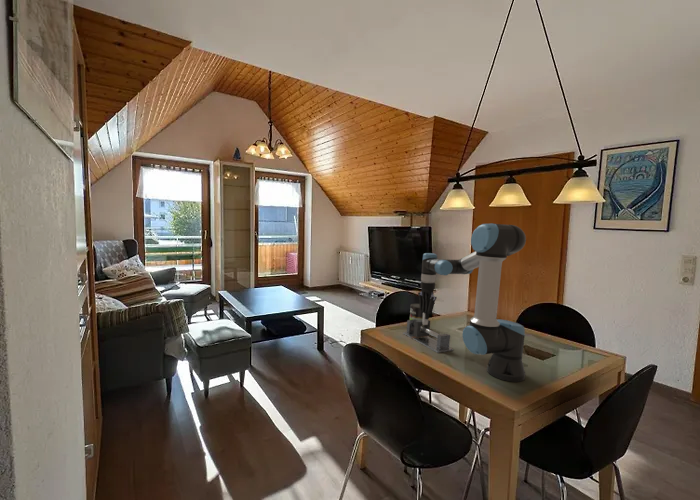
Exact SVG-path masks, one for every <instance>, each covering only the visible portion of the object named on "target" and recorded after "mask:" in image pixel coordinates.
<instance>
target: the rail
mask: <svg viewBox="0 0 700 500" xmlns="http://www.w3.org/2000/svg"><path fill="white" fill-rule="evenodd" d="M415 321H416V319H414V320H410V319H407V322H406V331H403V332H402V334H403V335H404V334H405V335H404V336H406V335H407V337H409V339H412V340H413V339H414V341H415V340H416V342H417V343H419V344H421V345H423V346H424V347H426V348H428V349H429V350H432V351H433V352H435V353H437V354H440V353H447V352H452V351H454V349H453V348H452V347H450V343H451V342H450V341H451V335H450V334H449V333H441V334H440V333H438V332H436V331H434V330H431V328H430V329H428V328H425V327H423V326H422V325H421V329H420V330H422V331H424V332H426V333H428V334H429V336H423V337H415V336H414V323H415ZM430 336H432V337H434V338H435V339H434V338H432V337H430Z"/></svg>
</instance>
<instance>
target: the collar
mask: <svg viewBox="0 0 700 500" xmlns="http://www.w3.org/2000/svg"><path fill="white" fill-rule="evenodd" d="M421 325H423V324H422V320H416V321H415V323H414V336H415V337H423V336H429V337H430V334H428V333H426V332H424V331H420V329H421ZM423 327H425V328H428V329H430V330H431V320H429V319H428V325H424V326H423Z"/></svg>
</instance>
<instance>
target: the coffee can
mask: <svg viewBox="0 0 700 500" xmlns="http://www.w3.org/2000/svg"><path fill="white" fill-rule="evenodd" d="M409 309H410V311H409V313H410V314H409V320H414V319H416V320H422V319H423V318H422V313H423V312H422V310H420V303H411V304H410V307H409ZM422 326H424V325H422ZM420 331H422V330H420Z"/></svg>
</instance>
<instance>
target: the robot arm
mask: <svg viewBox="0 0 700 500" xmlns="http://www.w3.org/2000/svg"><path fill="white" fill-rule="evenodd" d="M526 241H527V237H526V234H525V232H524V231H523V229H522V228H520V227H519V226H517V225H514V224H503V223H502V224H501V223H481V224H480V225H478V226H476V228H475V229H474V230H473V232H472V234H471V238H470V245H471V247H472V250H473V252H471V253H469V254H467V255H466V256H463V257H462V258H459V259H446V258H445V259H441V258H438V254H436V253H433V252H432V253H431V252H425V253H423V254H422V260H421V261H422V263H421V275H420V280H421V282H420V288H421V290H420V291H418V292H417V294H418V300H419V303H418V304H420V310H422V312H423V313H422V318H423V319H422V324H423V325H428V320H429V319H430V314H432V313H433V310H434V307H435V306H434V305H435V303H436V300H437V296H435V294H434V290H435V289H436V283H435V282H436V277H437V275H436V274H438V275H440V276H449V275H470V274H473V272H474V269H478V274H477V283H476V291H475V292H476V295H475V304H474V314H473V316H472V317H471V318H470V319H469V325H466V326H464V328H463V330H462V341H463V343H464V345H465V347H466V349H467V350H468V351H469V352H470V353H471V354H473V355H483V356H484V355H489V354H492V355H491V356H490V358H489V360H488V363H487V365H486V371H487V372H486V373H488V374H490V375H491V376H492V377H494V378H496V379H500V380H501V381H502V380H503V381H505V382H514V383H517V382H523V381H524V380H525V379H526V370H525V367H524V362H523V355H524V353H523V352H524V345H525V337H526V335H525V333H526V332H525V330H526V329H525V326H524V325H522V324H520V323H518V322H516V321H511V320H508V319H501V318H500V319H499V318H497V315H498V306H499V305H498V304H499V295H500V285H501V277H502V268H503V267H502V266H503V261H505V260H506V259H508V257H510V256H511V255H514V254H516V253H518V252H520V251H521V250H523V248H524V247H525V245H526Z"/></svg>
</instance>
